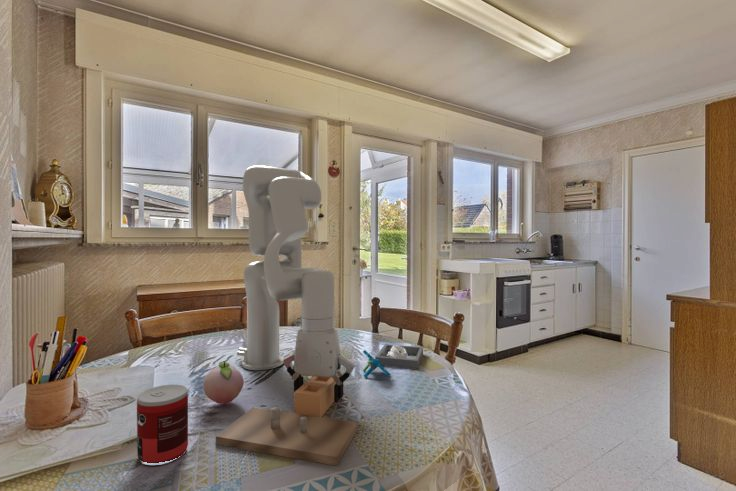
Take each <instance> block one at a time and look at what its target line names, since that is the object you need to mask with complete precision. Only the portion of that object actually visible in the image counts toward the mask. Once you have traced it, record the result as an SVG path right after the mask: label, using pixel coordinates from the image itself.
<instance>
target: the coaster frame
mask: <svg viewBox="0 0 736 491" xmlns="http://www.w3.org/2000/svg"><path fill="white" fill-rule="evenodd" d="M393 345H394V344H388V343H385V344H384V345H383V346H382V348H380V350H379V352H377V354H376V355H375V357H374V359H376V360H377V359H378V360H379V361H380V365H381V366H383V367H389V368H390V367H392V368H401V369H413V370H419V367H420V365H421V361H422V358H423V356H424V347H423V346H416V345H415V346H413V345H402V344H401V345H400V344H397V345H398V346H401V347H403V348H404V349H405V350H406V352H407V354H408V355H411V354H413V356H415V358H408V359H405V358H394V357H387V354H388V352H390V351H391V348H392V346H393Z"/></svg>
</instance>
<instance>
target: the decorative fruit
mask: <svg viewBox="0 0 736 491" xmlns="http://www.w3.org/2000/svg"><path fill="white" fill-rule="evenodd" d="M244 383H245V380H244V377H243V374H242V373H241V372H240V371H239V370H238V369H237V368H236V367H235V366H233V365H231V364H230V363H229V362H226V361H223V362H220V363H218V365H217V367H213V368H212V369H211V370H209V371H208V372H207V374H205V377H204V379H203V386H202V387H203V388H202V389H203V391H204V392H203V393H204V394H205V396H206V397H207V398H208V399H209V400H210V401H213V402H214V403H216V404H221V405H227V404H230V403H231V402H233V401H234V400H235V399H236V398H237V397H238V396H239V395H240V394H241V391H242V390H243V387H244Z"/></svg>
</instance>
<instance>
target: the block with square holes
mask: <svg viewBox="0 0 736 491" xmlns="http://www.w3.org/2000/svg"><path fill="white" fill-rule="evenodd" d="M335 384H336V382H335V381H334V380H333V378H332V377H329V378H327V377H316V376H310V377H309V379H307V380H306V381H305V382H304V384H303V385H302V386H301V387H300V388H299V389H298V390H296V391H295V392H294V391H293V395H294V396H293V397H294V399H293V402H294V404H293V406H294V408H293V409H294V410H293V413H296V414H303V415H310V416H317V417H324V415H325V413H326V412H327V411H328V409H329V408H330V407H331V406H332V405H333V404H334V403H335V402H334V385H335Z"/></svg>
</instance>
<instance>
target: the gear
mask: <svg viewBox="0 0 736 491" xmlns="http://www.w3.org/2000/svg"><path fill="white" fill-rule="evenodd" d="M362 353H363V354H364V355H365V356H366V357H367V360H368V361H367V363H366V364H367V365H366V366H365V367H364V368H363V369H362V371H363V372H364V375H362V376H363V377H364V378H365V379H367V378H368V377H369V375H370V374H371V373H372V372H373V371H375V370H376V369H377V368H379V369H380V370H381V371H383V373H384V374H385V375H386V376H387V377H390V376H391V375H392V374H391V372H389V371H388V370H387V369H386V368H385V367H384V366H381V365H380V361H379V360H378V359H377V360H376V359H375V357H374V356H372V355H371V354H370V353H369V352H368V351H367V350H365V349H364V350H363V351H362Z"/></svg>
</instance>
